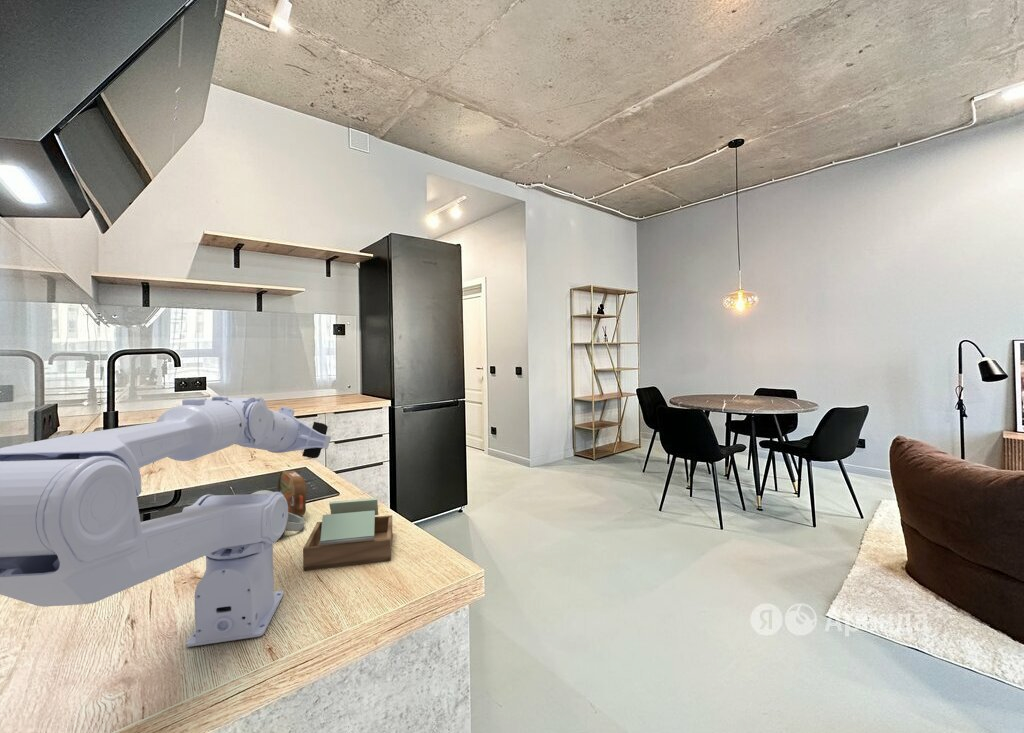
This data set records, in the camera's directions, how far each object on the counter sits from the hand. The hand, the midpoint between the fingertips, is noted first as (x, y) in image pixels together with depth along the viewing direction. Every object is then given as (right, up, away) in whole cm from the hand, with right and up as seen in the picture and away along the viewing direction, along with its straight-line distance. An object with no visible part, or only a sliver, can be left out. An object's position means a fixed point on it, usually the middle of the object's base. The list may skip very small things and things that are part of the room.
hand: (300, 438), depth 75 cm
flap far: (+8, -13, +2) cm, 16 cm away
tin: (-10, -19, +16) cm, 27 cm away
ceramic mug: (-8, -19, +5) cm, 21 cm away
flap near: (+11, -13, -6) cm, 18 cm away
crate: (+10, -19, -2) cm, 21 cm away
